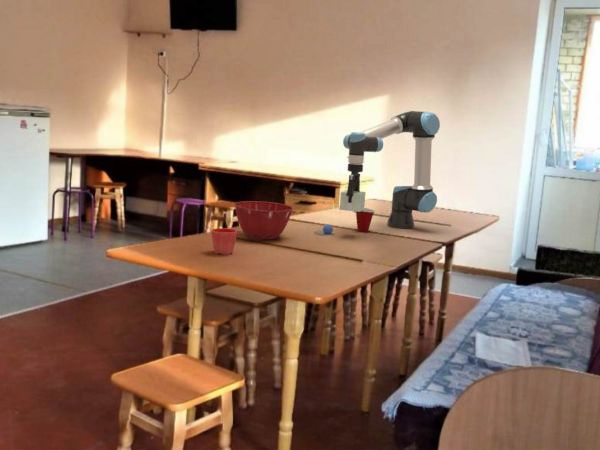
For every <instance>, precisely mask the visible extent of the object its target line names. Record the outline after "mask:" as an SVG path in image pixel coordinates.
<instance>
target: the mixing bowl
mask: <svg viewBox="0 0 600 450" xmlns="http://www.w3.org/2000/svg"><path fill="white" fill-rule="evenodd" d="M233 204H234V209H235V214H236V218H237V221H238V224H239V228H240V229H241V230H242V232H243V233H244V234H245V235H246V236H247V237H248V238H250V237H251V238H250V239H254V238H256V239H255V240H263V239H269V240H274V238H275V239H276V238H278V237H279V236H280V235H281V234H282V233H283V231H284V230H285V228H286V227H287V226H288V222H289V221H290V219H291V215H292V211H293V209H294V207H293V206H291V205H290V204H289V205H288V204H284V203H278V202H270V201H255V200H253V201H252V200H249V201H248V200H246V201H243V200H242V201H237V202H234V203H233Z"/></svg>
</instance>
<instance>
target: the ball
mask: <svg viewBox="0 0 600 450" xmlns="http://www.w3.org/2000/svg"><path fill="white" fill-rule="evenodd" d="M333 230H334V228H333V226H332V225H331V224H325V225H323V228H322V231H324V233H325V234H330V233H333Z"/></svg>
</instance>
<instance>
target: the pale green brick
mask: <svg viewBox="0 0 600 450" xmlns="http://www.w3.org/2000/svg"><path fill="white" fill-rule="evenodd" d="M347 190H348V189H345V190H342V191H340V200H339V201H340V202H339V210H341V211H348V212H356V211H357V212H360V211H362V210H364V208H365V204H366V202H365V201H366V192H365V191H354V193H353V196H354V197H353V209H347V200H348V196H346V194H347Z"/></svg>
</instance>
